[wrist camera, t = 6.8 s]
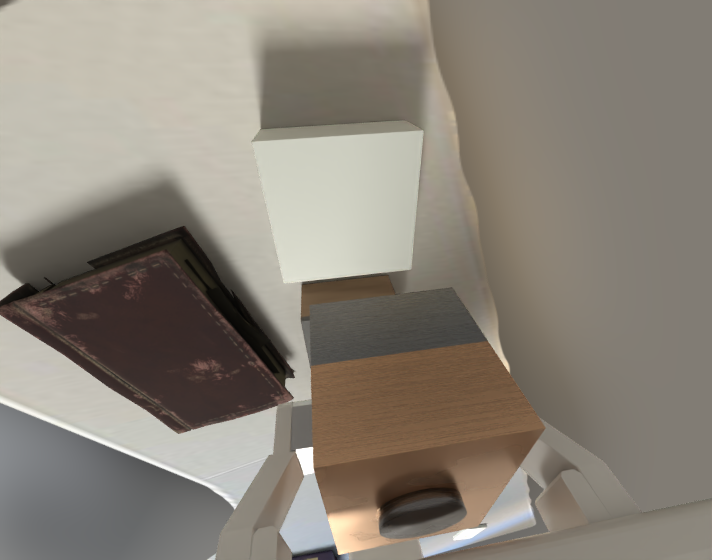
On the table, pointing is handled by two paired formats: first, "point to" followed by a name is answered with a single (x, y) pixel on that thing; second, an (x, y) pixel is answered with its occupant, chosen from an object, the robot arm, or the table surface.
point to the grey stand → (341, 197)
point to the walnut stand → (339, 296)
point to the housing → (410, 418)
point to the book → (317, 556)
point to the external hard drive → (469, 532)
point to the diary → (159, 333)
